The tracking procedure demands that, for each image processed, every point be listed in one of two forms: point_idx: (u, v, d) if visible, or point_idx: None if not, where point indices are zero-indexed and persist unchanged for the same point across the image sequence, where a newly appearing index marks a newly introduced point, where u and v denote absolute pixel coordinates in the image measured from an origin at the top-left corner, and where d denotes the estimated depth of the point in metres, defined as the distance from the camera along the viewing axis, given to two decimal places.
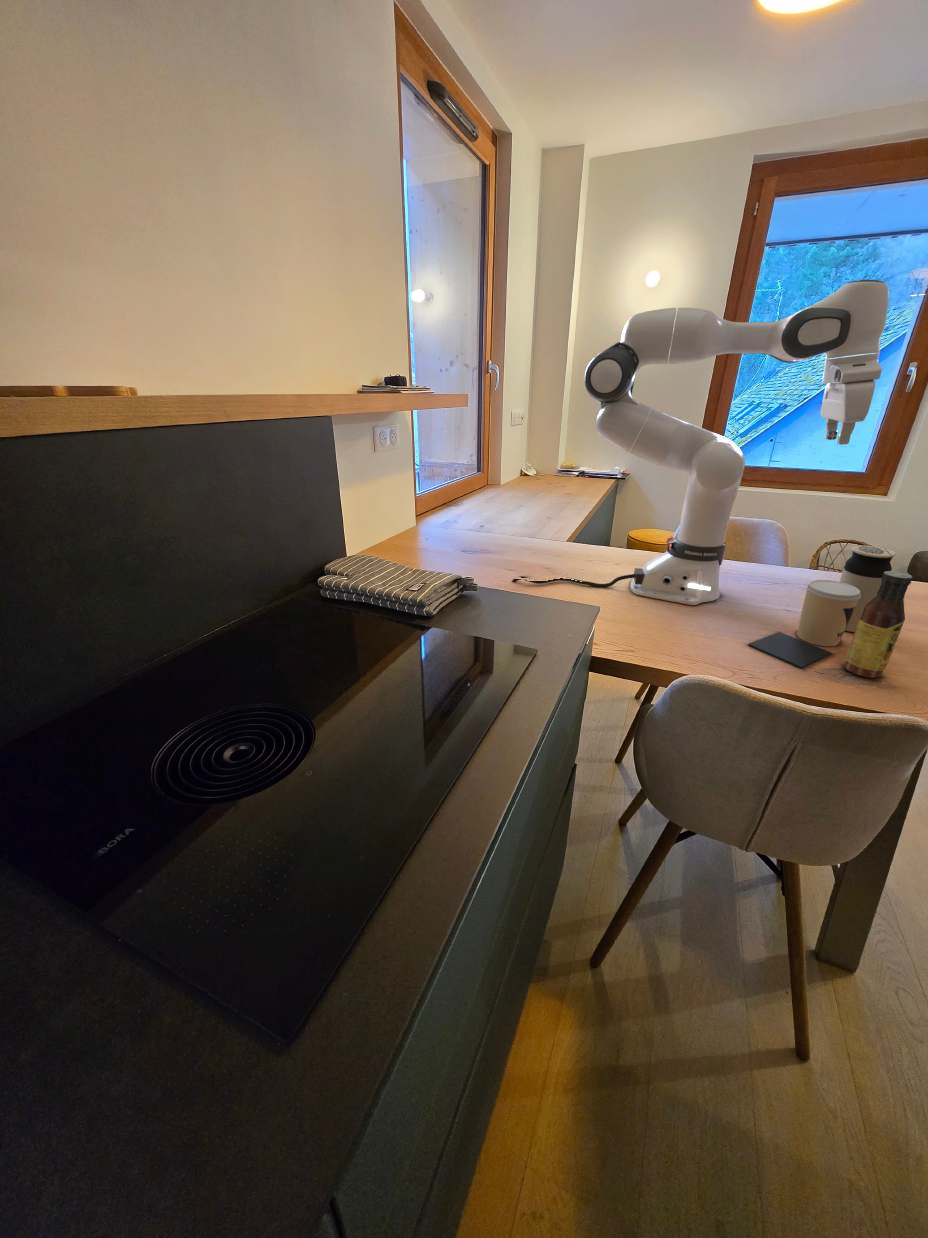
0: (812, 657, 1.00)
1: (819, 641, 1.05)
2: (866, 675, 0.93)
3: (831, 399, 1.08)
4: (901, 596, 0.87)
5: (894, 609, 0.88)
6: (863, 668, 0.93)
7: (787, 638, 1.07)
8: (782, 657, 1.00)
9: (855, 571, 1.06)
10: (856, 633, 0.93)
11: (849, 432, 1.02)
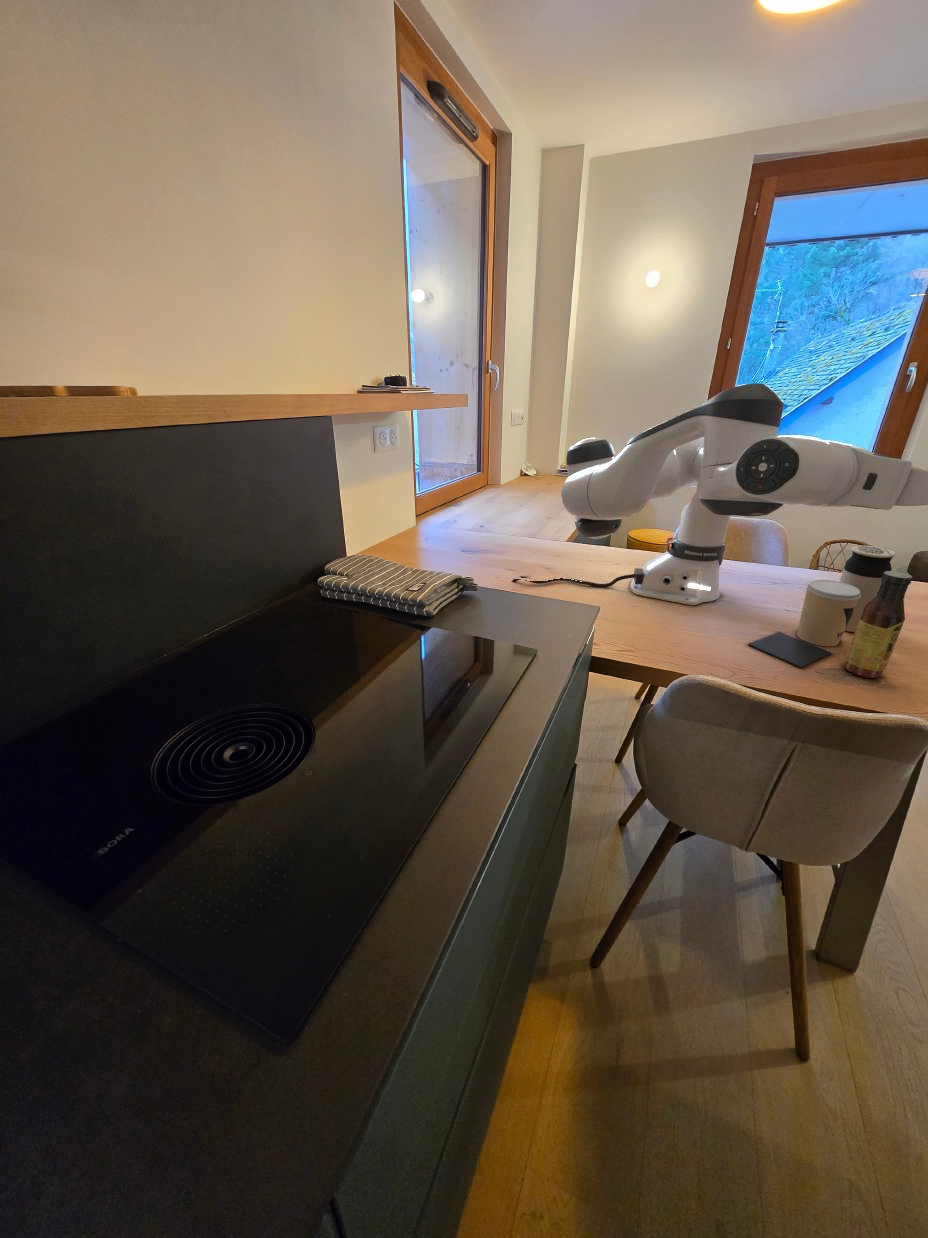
0: (812, 657, 1.00)
1: (819, 641, 1.05)
2: (866, 675, 0.93)
3: None
4: (901, 596, 0.87)
5: (894, 609, 0.88)
6: (863, 668, 0.93)
7: (787, 638, 1.07)
8: (782, 657, 1.00)
9: (855, 571, 1.06)
10: (856, 633, 0.93)
11: None
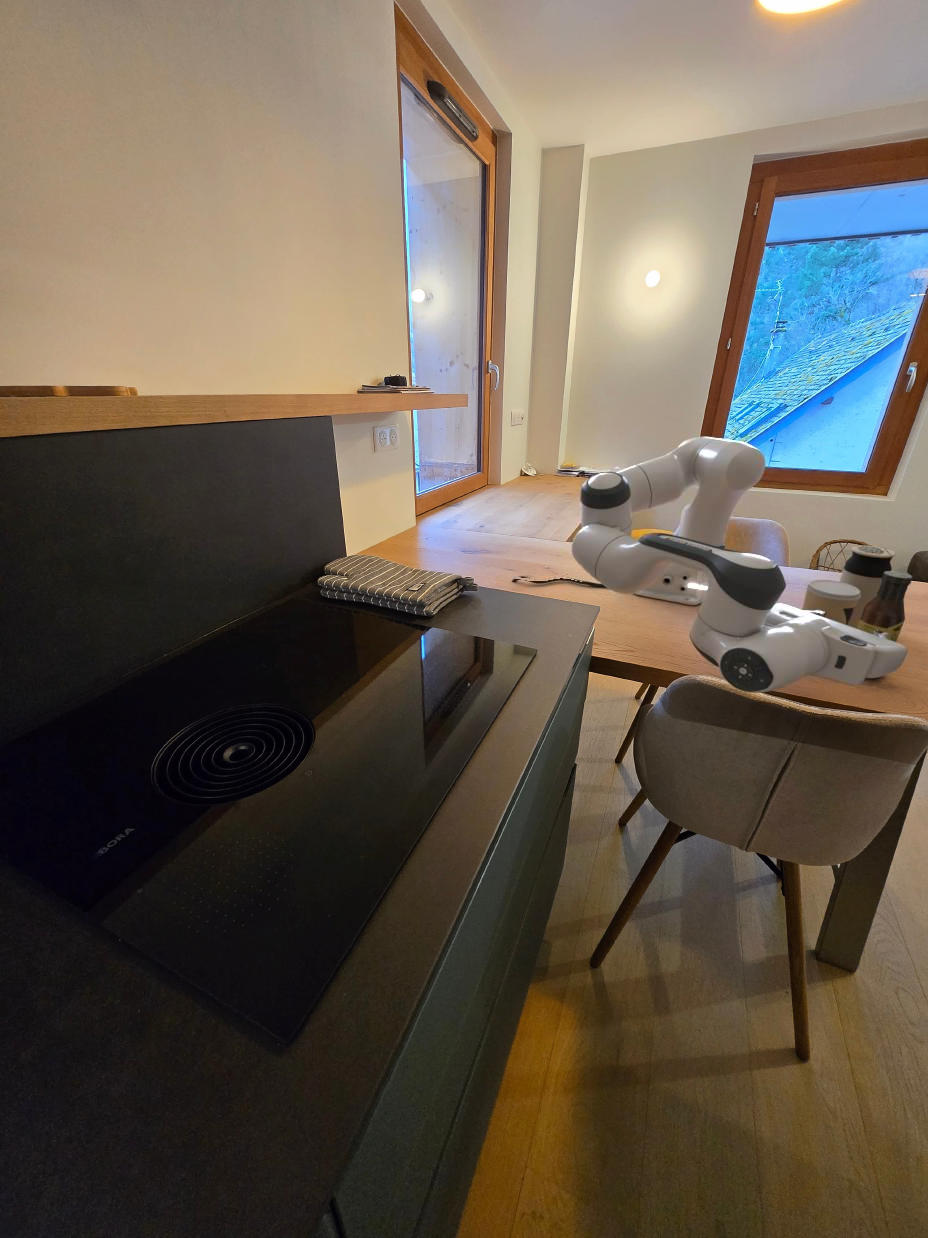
0: None
1: None
2: None
3: None
4: (901, 596, 0.87)
5: (894, 609, 0.88)
6: None
7: None
8: None
9: (855, 571, 1.06)
10: None
11: None
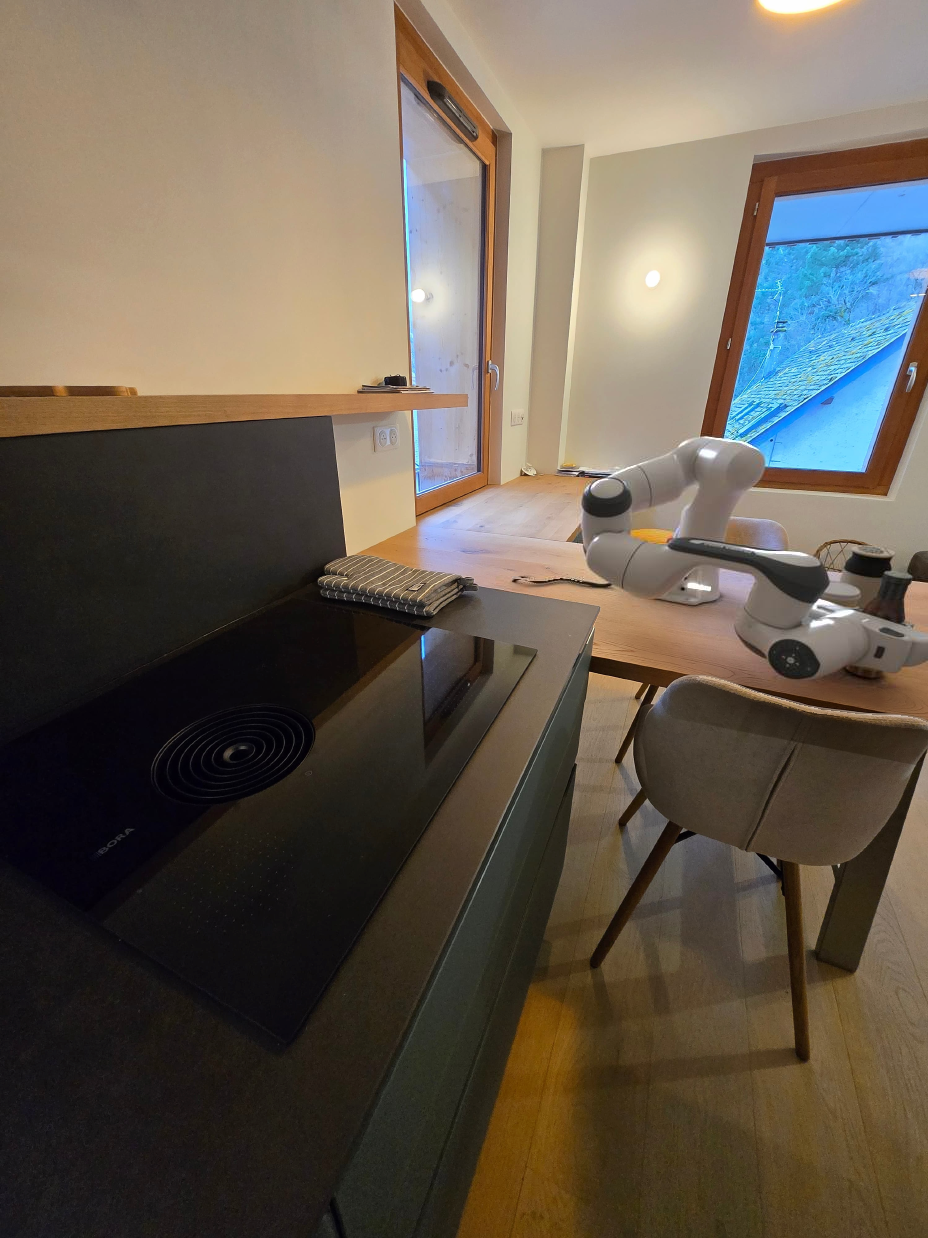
0: None
1: None
2: (865, 675, 0.93)
3: None
4: (901, 596, 0.87)
5: (894, 609, 0.88)
6: (862, 668, 0.93)
7: None
8: None
9: (855, 571, 1.06)
10: None
11: None
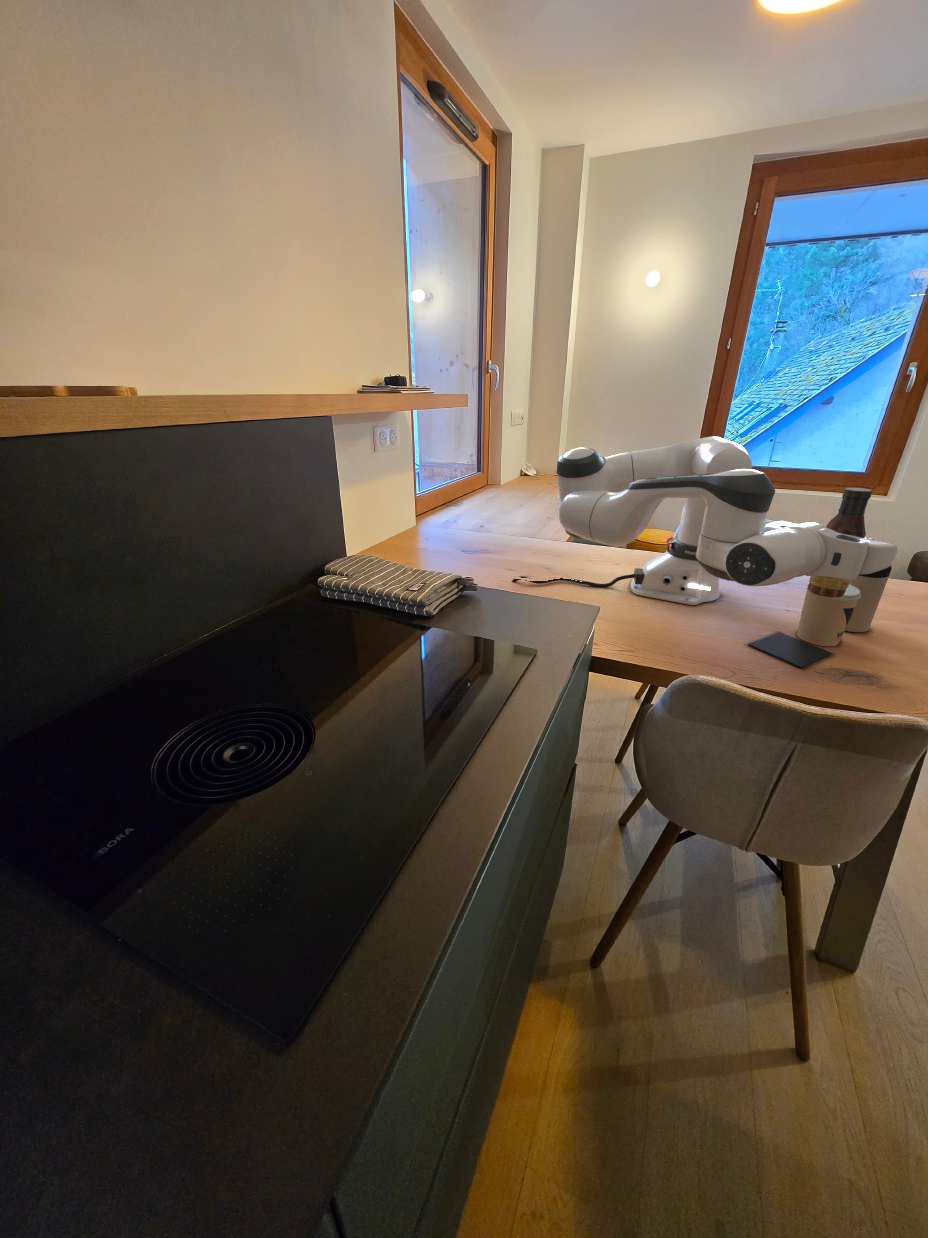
0: (812, 657, 1.00)
1: (819, 641, 1.05)
2: (828, 595, 0.93)
3: None
4: (861, 511, 0.87)
5: (854, 525, 0.88)
6: (825, 588, 0.93)
7: (787, 638, 1.07)
8: (782, 657, 1.00)
9: None
10: None
11: None
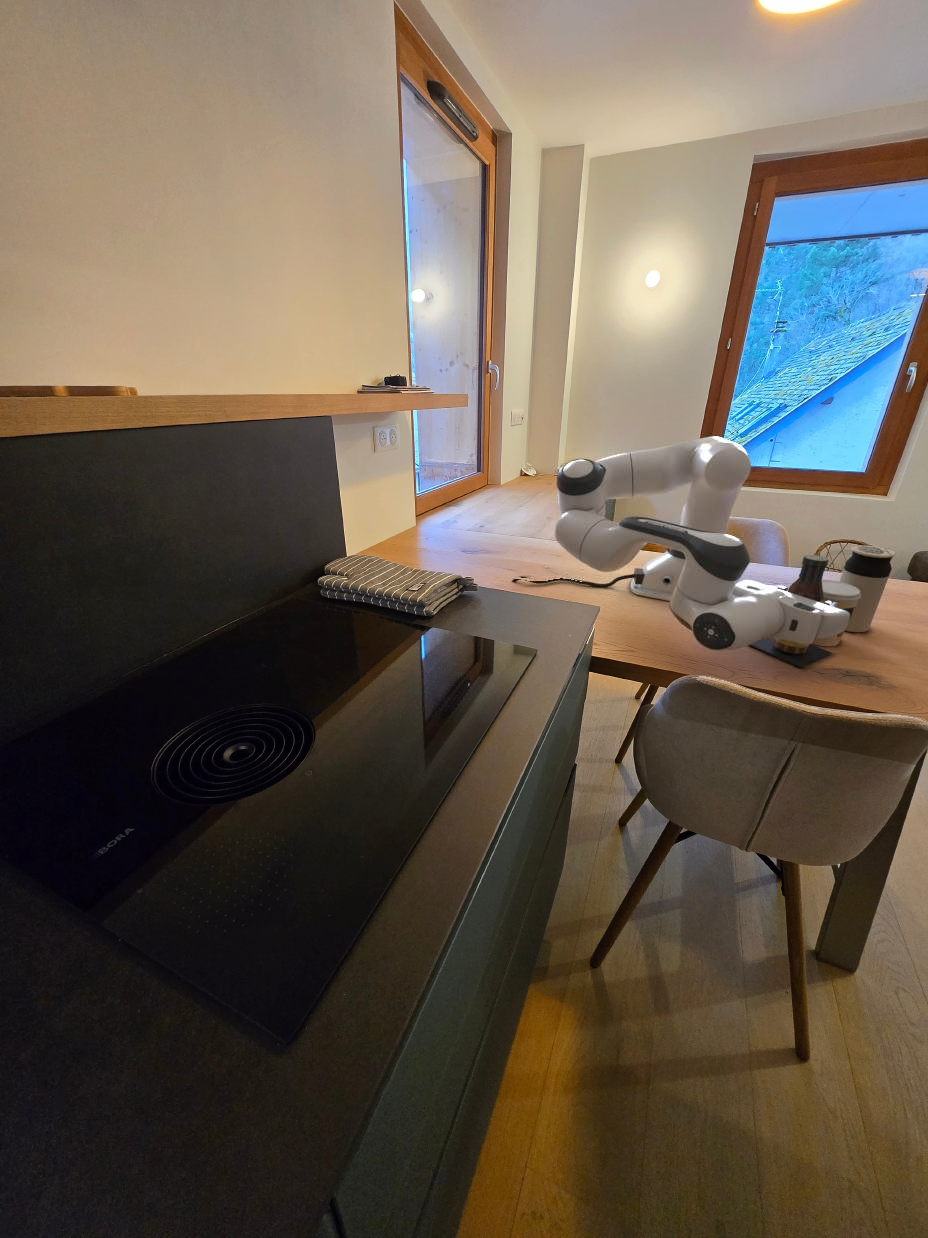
0: (812, 657, 1.00)
1: (819, 641, 1.05)
2: (790, 652, 1.00)
3: None
4: (819, 578, 0.95)
5: (813, 590, 0.95)
6: (787, 645, 1.00)
7: None
8: (782, 657, 1.00)
9: (855, 571, 1.06)
10: None
11: None
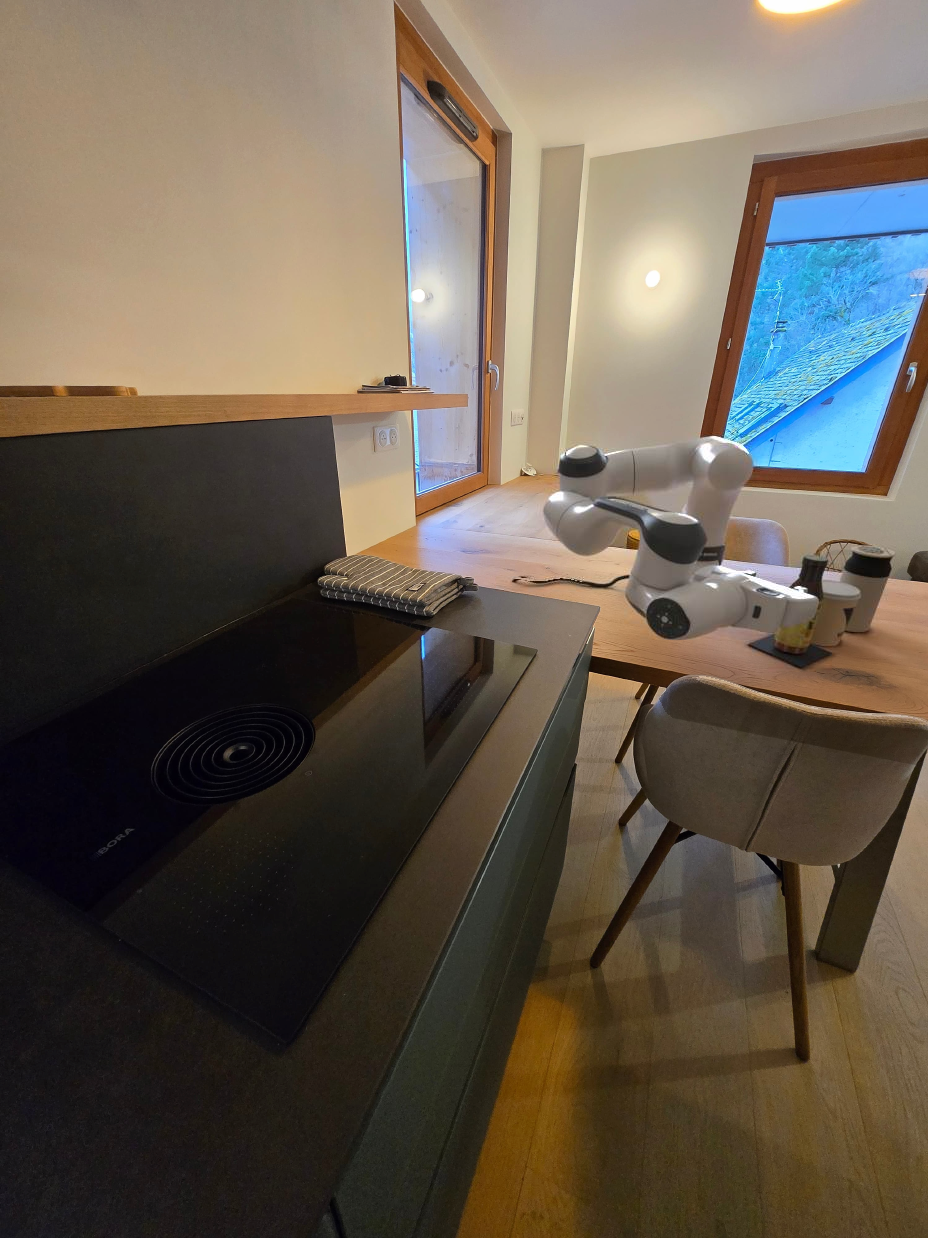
0: (812, 657, 1.00)
1: (819, 641, 1.05)
2: (790, 652, 1.00)
3: None
4: (819, 578, 0.95)
5: (813, 590, 0.95)
6: (787, 645, 1.00)
7: None
8: (782, 657, 1.00)
9: (855, 571, 1.06)
10: None
11: None
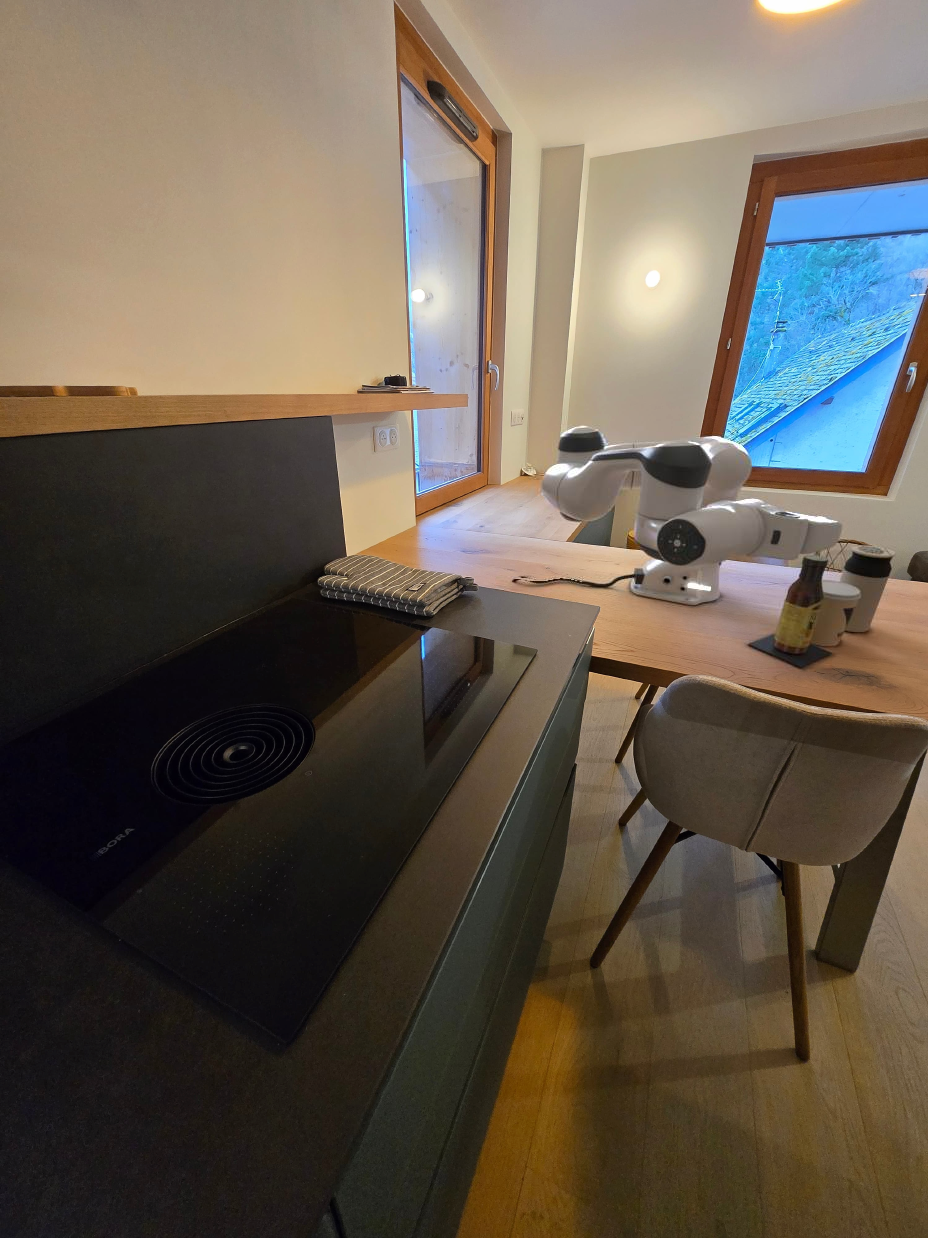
0: (812, 657, 1.00)
1: (819, 641, 1.05)
2: (790, 652, 1.00)
3: None
4: (819, 578, 0.95)
5: (813, 590, 0.95)
6: (787, 645, 1.00)
7: None
8: (782, 657, 1.00)
9: (855, 571, 1.06)
10: (782, 613, 1.01)
11: None
